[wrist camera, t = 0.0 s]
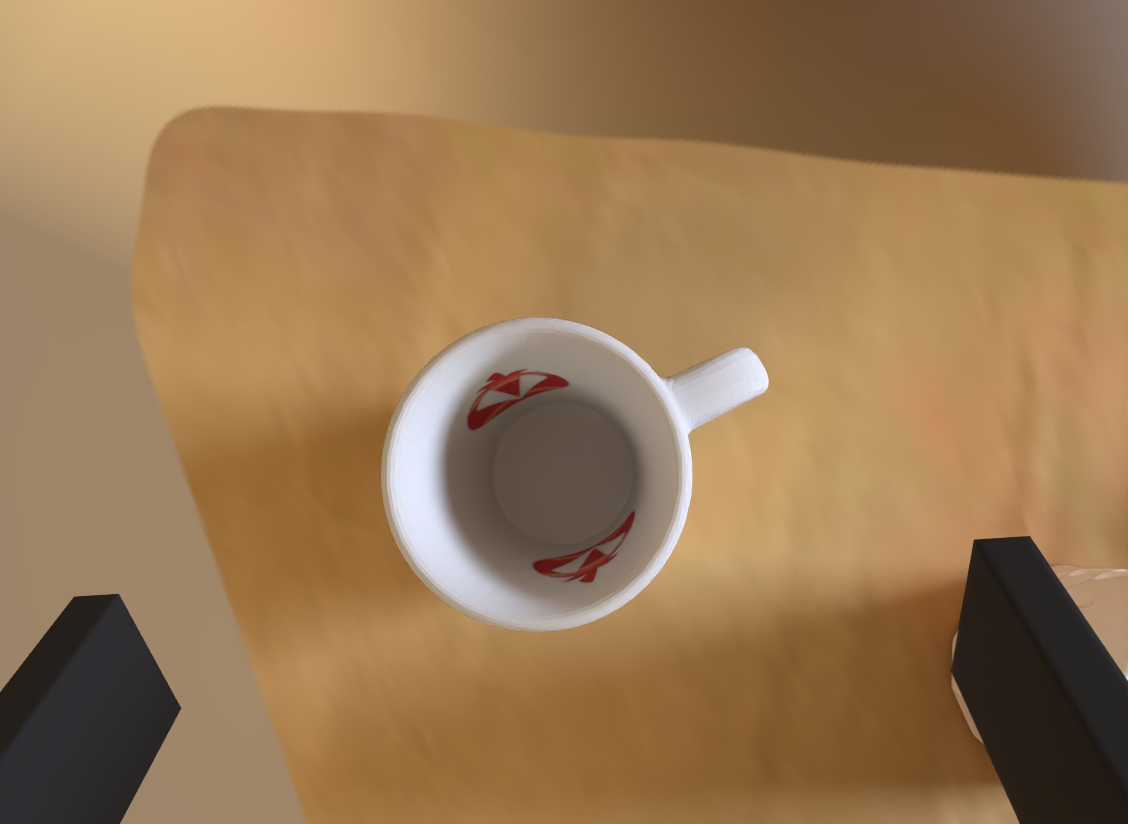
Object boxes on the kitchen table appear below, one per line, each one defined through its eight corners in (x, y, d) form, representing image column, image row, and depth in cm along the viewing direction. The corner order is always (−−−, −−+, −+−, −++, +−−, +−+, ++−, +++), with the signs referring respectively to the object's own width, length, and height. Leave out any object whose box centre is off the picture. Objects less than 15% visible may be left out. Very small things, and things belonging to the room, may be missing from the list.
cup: (690, 283, 28) (704, 208, 20) (798, 490, 27) (857, 496, 20) (416, 422, 29) (327, 401, 21) (512, 629, 28) (458, 689, 20)
